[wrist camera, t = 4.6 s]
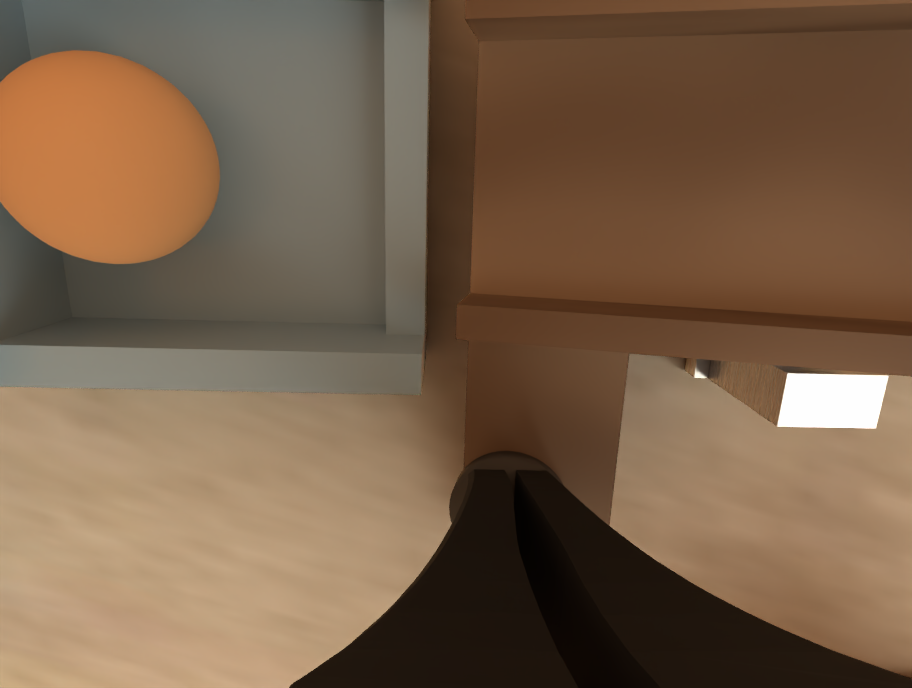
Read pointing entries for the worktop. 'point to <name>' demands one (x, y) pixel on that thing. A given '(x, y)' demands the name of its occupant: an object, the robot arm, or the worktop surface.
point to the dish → (247, 205)
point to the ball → (104, 157)
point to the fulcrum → (799, 392)
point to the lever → (677, 209)
